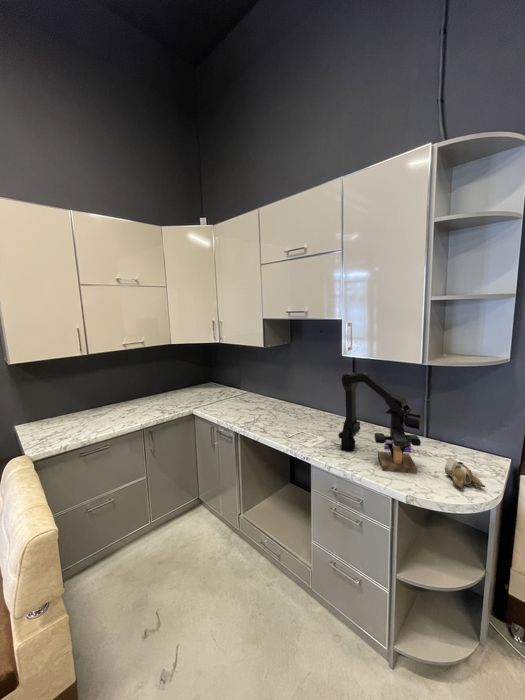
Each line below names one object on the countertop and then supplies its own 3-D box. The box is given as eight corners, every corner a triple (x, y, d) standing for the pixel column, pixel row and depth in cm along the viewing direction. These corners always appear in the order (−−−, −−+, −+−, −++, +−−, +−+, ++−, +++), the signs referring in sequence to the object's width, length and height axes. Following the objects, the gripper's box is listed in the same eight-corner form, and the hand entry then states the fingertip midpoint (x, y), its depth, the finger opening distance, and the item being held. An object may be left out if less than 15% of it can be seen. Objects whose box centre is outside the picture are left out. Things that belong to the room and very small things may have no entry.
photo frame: (309, 447, 160) (285, 437, 173) (309, 449, 160) (285, 439, 173) (327, 439, 169) (302, 430, 183) (327, 441, 169) (302, 432, 183)
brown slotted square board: (382, 470, 136) (382, 465, 135) (377, 456, 149) (377, 451, 149) (416, 473, 133) (417, 468, 132) (408, 458, 146) (408, 453, 146)
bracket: (409, 447, 159) (410, 434, 158) (410, 453, 152) (410, 439, 152) (384, 444, 163) (385, 431, 163) (384, 449, 157) (384, 436, 156)
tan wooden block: (394, 465, 137) (394, 451, 136) (390, 457, 145) (391, 444, 144) (401, 466, 137) (402, 452, 136) (397, 457, 144) (398, 444, 144)
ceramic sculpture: (461, 453, 132) (488, 472, 117) (460, 471, 133) (486, 493, 119) (437, 454, 131) (461, 474, 117) (436, 472, 133) (459, 494, 118)
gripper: (378, 429, 133) (377, 463, 135) (425, 432, 129) (423, 467, 131) (374, 420, 144) (373, 452, 146) (417, 423, 140) (416, 455, 142)
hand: (396, 457), depth 141 cm, fingers closed on tan wooden block, 3 cm apart
